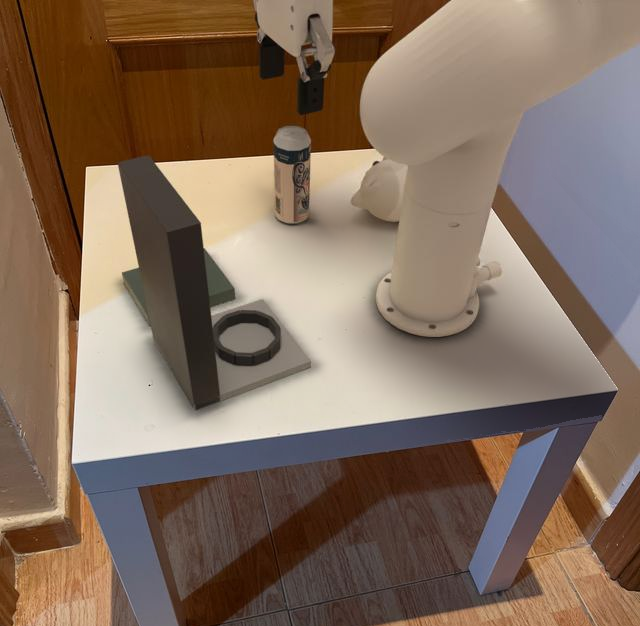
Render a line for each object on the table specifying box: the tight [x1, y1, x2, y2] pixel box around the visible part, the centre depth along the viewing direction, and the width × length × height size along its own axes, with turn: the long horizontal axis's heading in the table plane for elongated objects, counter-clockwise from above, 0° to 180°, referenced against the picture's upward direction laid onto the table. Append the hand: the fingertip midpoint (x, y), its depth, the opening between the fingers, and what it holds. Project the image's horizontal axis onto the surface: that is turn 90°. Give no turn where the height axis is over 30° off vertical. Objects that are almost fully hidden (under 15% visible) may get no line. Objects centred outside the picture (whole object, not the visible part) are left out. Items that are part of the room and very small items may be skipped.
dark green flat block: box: [121, 248, 236, 328], centre depth 83 cm, size 11×9×4 cm
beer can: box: [273, 125, 312, 225], centre depth 91 cm, size 5×5×12 cm
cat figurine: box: [350, 156, 408, 223], centre depth 94 cm, size 10×8×15 cm
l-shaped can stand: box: [117, 154, 312, 412], centre depth 69 cm, size 14×12×22 cm
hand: (290, 93), depth 83 cm, fingers open, 9 cm apart
